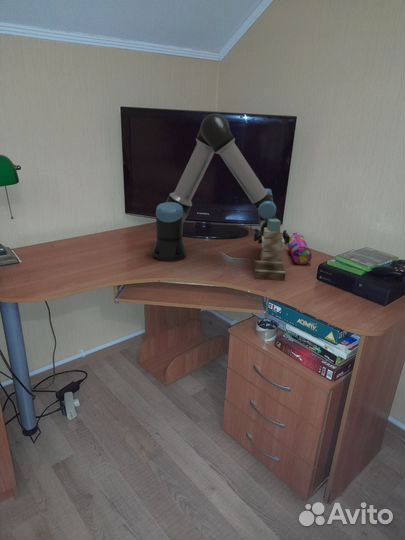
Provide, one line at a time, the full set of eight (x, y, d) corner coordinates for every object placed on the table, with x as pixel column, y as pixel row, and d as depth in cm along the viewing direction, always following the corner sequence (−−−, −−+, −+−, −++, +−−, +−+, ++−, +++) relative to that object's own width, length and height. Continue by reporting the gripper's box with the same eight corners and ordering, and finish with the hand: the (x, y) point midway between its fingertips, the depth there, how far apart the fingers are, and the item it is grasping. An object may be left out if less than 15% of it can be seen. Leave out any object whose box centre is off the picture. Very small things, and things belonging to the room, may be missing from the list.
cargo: (270, 231, 151) (271, 221, 149) (266, 228, 154) (267, 219, 153) (279, 231, 151) (280, 221, 150) (276, 228, 155) (277, 218, 154)
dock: (254, 278, 155) (255, 270, 154) (253, 267, 166) (254, 260, 165) (284, 280, 154) (285, 272, 153) (281, 269, 165) (282, 262, 164)
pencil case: (283, 249, 190) (285, 232, 187) (303, 250, 190) (305, 232, 187) (290, 265, 170) (293, 246, 167) (312, 266, 170) (315, 247, 167)
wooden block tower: (261, 260, 155) (263, 232, 150) (260, 255, 161) (262, 227, 156) (281, 262, 154) (284, 233, 149) (279, 256, 160) (282, 228, 156)
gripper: (291, 237, 172) (298, 255, 151) (246, 235, 173) (246, 252, 152) (292, 221, 169) (300, 236, 148) (247, 219, 171) (248, 234, 149)
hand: (273, 244), depth 150 cm, fingers closed on wooden block tower, 7 cm apart
